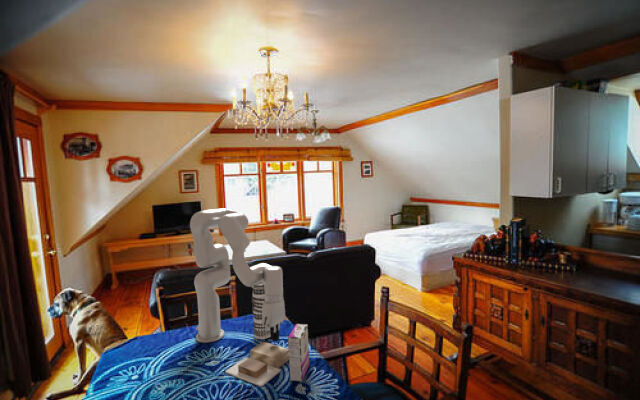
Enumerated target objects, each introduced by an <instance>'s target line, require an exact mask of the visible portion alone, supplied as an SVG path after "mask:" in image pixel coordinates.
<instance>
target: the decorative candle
mask: <svg viewBox="0 0 640 400" xmlns="http://www.w3.org/2000/svg"><path fill="white" fill-rule="evenodd" d="M251 288H252V295H250V298H251V306H252V308H251V309H252V313H253V325H252V326H253V337H254V338H255V339H257V340H266V339H268V338H271V332H270V331H266V330H265V325H264V326H263V325H262V309H263V303H264V302H265V291H264V282H260V283H258V284H256V285H254V286H251Z"/></svg>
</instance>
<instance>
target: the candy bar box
mask: <svg viewBox="0 0 640 400" xmlns="http://www.w3.org/2000/svg"><path fill="white" fill-rule="evenodd" d="M287 342H288V343H287V344H288V348H287V349H289V360H288V363H289V381H292V382H300V383H301V382H303V381H304V380H305V379H304V378H305V377H306V374H307V371H308V370H309V367H310V349H309V329H308V324H305V323H304V324H303V323H296V324H295V325H294V327H293V329H292V330H291V332H290V334H289V335H288V337H287Z"/></svg>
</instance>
